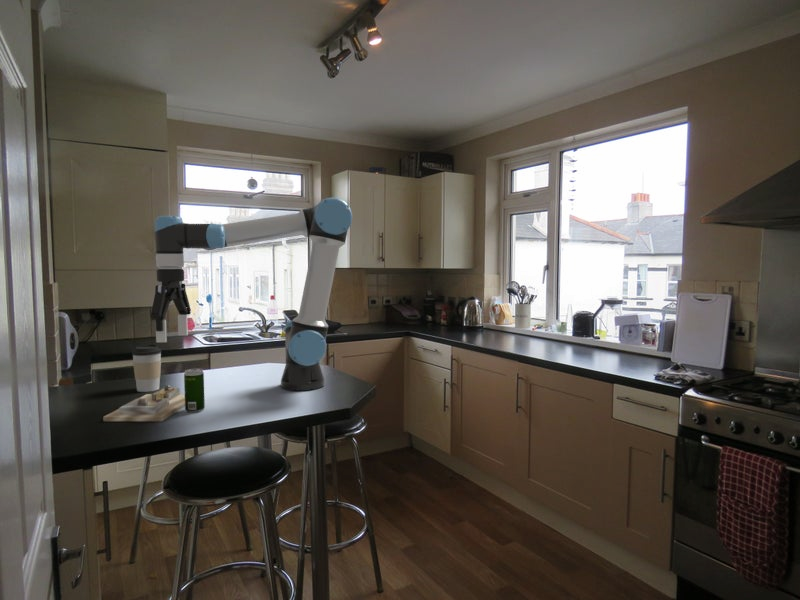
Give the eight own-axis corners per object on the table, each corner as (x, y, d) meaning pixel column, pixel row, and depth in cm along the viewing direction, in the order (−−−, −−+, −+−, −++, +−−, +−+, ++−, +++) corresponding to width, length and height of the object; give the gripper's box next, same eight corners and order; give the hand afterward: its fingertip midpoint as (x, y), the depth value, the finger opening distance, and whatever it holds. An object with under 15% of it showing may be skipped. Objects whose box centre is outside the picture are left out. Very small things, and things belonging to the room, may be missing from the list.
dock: (196, 397, 162) (196, 388, 162) (162, 421, 138) (161, 409, 138) (146, 397, 162) (146, 388, 162) (103, 421, 138) (102, 409, 138)
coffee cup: (150, 393, 168) (149, 348, 167) (127, 391, 170) (125, 347, 168) (168, 386, 177) (167, 344, 176) (145, 385, 178) (144, 343, 177)
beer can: (203, 412, 146) (202, 371, 145) (183, 413, 145) (182, 372, 144) (205, 407, 152) (204, 367, 151) (186, 408, 150) (185, 368, 149)
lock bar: (175, 393, 162) (175, 383, 162) (163, 400, 154) (163, 389, 154) (168, 393, 162) (167, 383, 162) (156, 400, 154) (155, 389, 154)
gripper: (177, 267, 164) (179, 332, 166) (134, 268, 139) (138, 345, 141) (200, 267, 164) (202, 332, 165) (161, 268, 139) (164, 345, 140)
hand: (172, 338), depth 153 cm, fingers open, 13 cm apart
